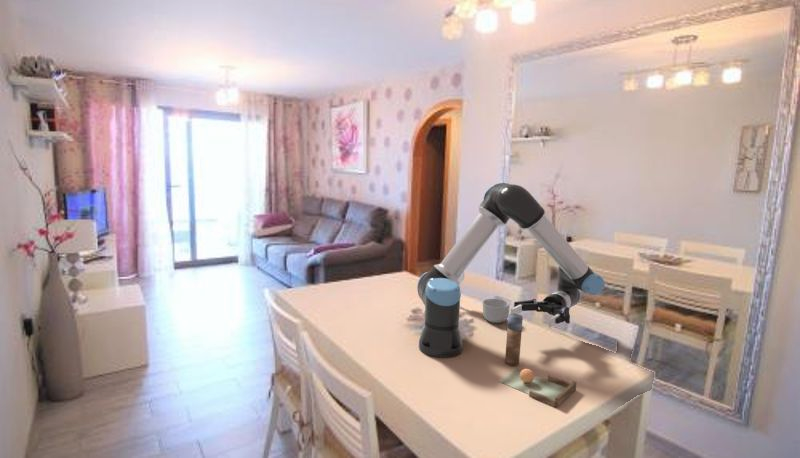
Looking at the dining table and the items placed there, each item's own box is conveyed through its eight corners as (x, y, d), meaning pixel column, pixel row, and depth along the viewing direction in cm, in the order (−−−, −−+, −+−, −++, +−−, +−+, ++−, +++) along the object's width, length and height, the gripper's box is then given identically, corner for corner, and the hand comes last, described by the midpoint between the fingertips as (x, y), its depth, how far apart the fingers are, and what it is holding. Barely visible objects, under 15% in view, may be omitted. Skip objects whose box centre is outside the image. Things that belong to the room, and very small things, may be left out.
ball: (520, 385, 121) (521, 372, 120) (518, 378, 125) (519, 365, 124) (534, 386, 121) (535, 373, 120) (532, 379, 125) (533, 366, 124)
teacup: (509, 326, 166) (510, 307, 165) (481, 324, 168) (482, 305, 167) (507, 314, 179) (508, 296, 178) (481, 312, 181) (482, 294, 180)
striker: (506, 366, 133) (509, 318, 130) (504, 359, 137) (507, 313, 135) (520, 367, 132) (523, 319, 130) (517, 360, 137) (521, 314, 134)
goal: (497, 382, 122) (497, 374, 122) (518, 368, 132) (518, 360, 131) (557, 408, 110) (558, 399, 110) (575, 390, 119) (576, 382, 119)
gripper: (590, 321, 147) (566, 339, 132) (524, 304, 164) (496, 318, 149) (592, 301, 146) (568, 316, 131) (526, 286, 163) (497, 298, 148)
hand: (530, 317), depth 140 cm, fingers open, 13 cm apart
